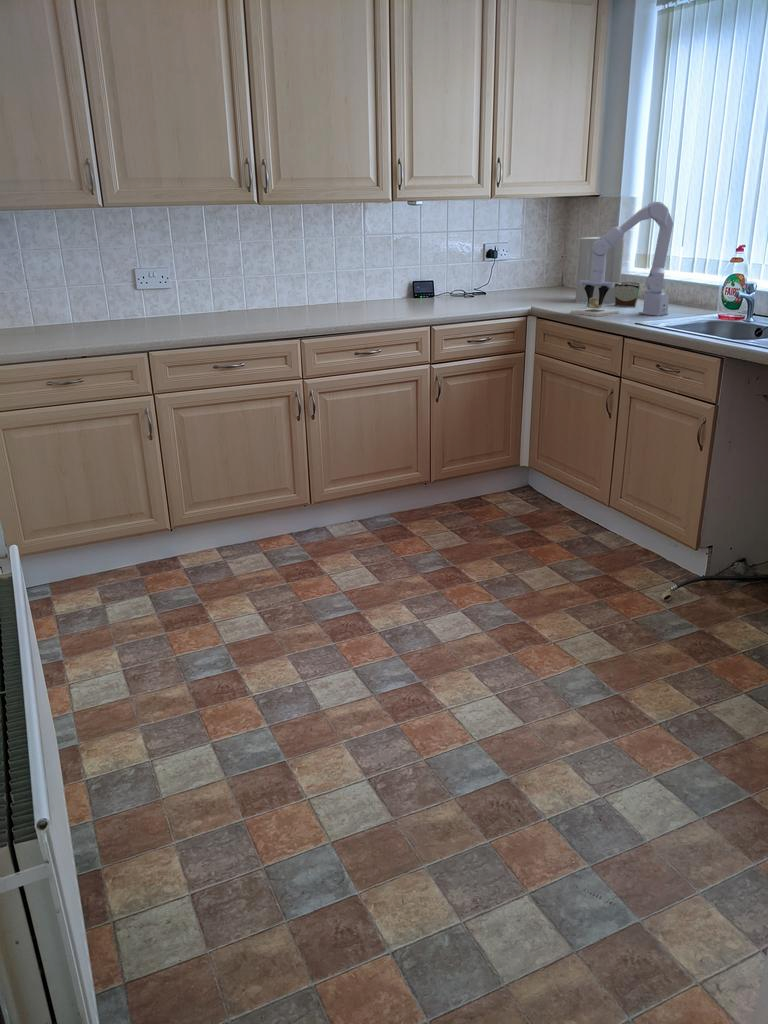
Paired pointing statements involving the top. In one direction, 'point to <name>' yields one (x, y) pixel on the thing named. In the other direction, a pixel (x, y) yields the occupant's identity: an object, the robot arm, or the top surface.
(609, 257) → the tall grey pillar
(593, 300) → the birch brick
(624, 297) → the food container
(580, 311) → the baseplate
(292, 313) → the top surface
